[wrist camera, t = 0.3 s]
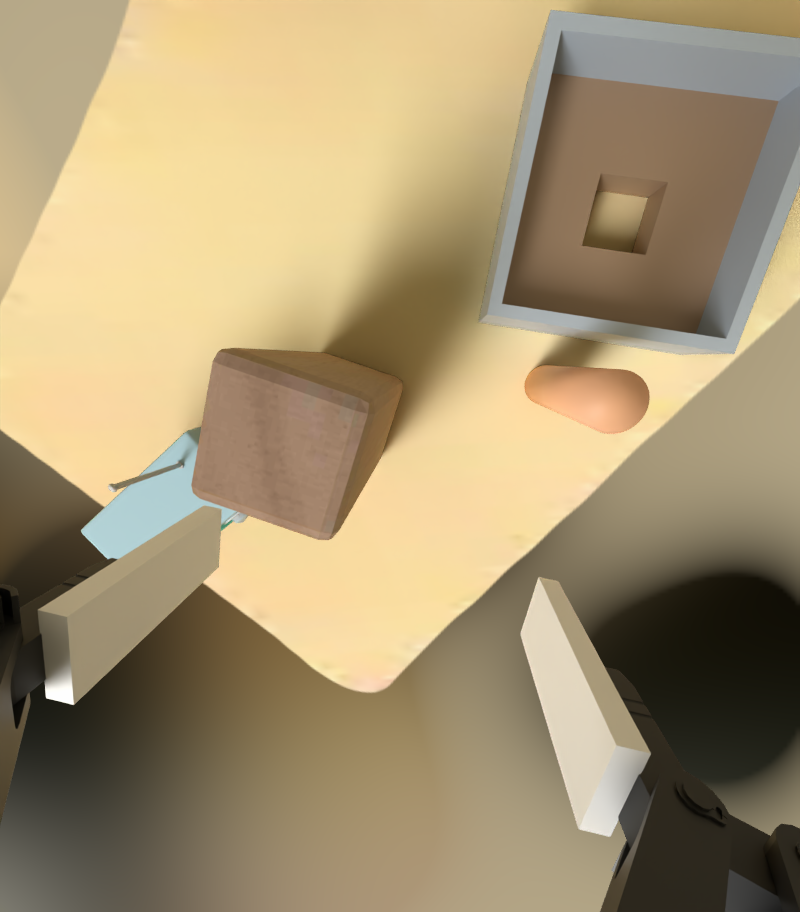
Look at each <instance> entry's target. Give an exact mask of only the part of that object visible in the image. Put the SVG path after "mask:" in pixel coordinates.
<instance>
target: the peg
mask: <svg viewBox="0 0 800 912" xmlns="http://www.w3.org/2000/svg"><path fill="white" fill-rule="evenodd" d="M525 392H526V394H527V396H528V398H529V399H530V400H531V401H533V402H535V403H537V404H539V405H541V406H544V407H546V408H548V409H550V410H552V411H555V412H557V413H559V414H561V415H564V416H566V417H568V418H570V419H572V420H575V421H577V422H579V423H581V424H583V425H586V426H588V427H590V428H592V429H595V430H597V431H599V432H602V433H607V434H615V433H621V432H624V431H626V430H628V429H630V428H632V427H633V426H635V425H636V424H637V423H638V422H639V421H640V420H641V419H642V418H643V416H644V415H645V413H646V411H647V408H648V405H649V390H648V387H647V385H646V383H645V382H644V380H643V379H642V378H641V377H640V376H638V375H637V374H635V373H634V372H631V371H628V370H621V369H603V368H586V367H569V366H552V365H543V366H539V367H537V368H535V369H534V370H532V371H531V372H530V373H529V375H528V376H527V378H526V381H525Z"/></svg>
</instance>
